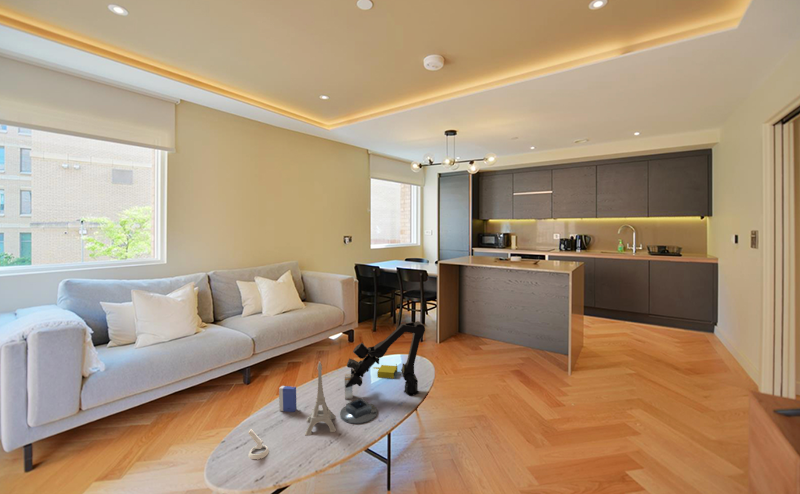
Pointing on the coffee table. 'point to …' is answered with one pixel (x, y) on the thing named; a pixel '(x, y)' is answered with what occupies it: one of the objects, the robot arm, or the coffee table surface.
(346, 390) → the square box
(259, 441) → the hook
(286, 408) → the walkman
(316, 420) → the eiffel tower
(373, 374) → the coffee table surface
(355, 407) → the square socket base
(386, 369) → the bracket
